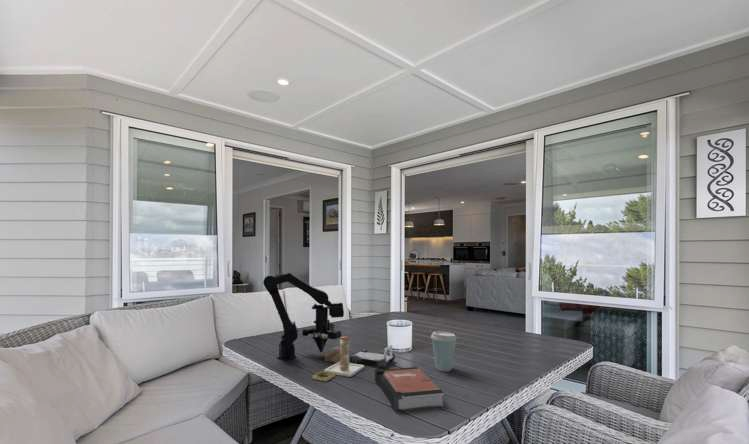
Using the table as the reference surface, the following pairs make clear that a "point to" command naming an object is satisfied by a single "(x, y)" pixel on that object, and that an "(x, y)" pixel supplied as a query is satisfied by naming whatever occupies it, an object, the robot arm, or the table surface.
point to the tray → (352, 370)
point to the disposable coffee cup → (443, 349)
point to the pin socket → (317, 377)
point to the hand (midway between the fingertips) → (321, 351)
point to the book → (408, 388)
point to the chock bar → (333, 355)
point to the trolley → (374, 357)
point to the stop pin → (344, 353)
